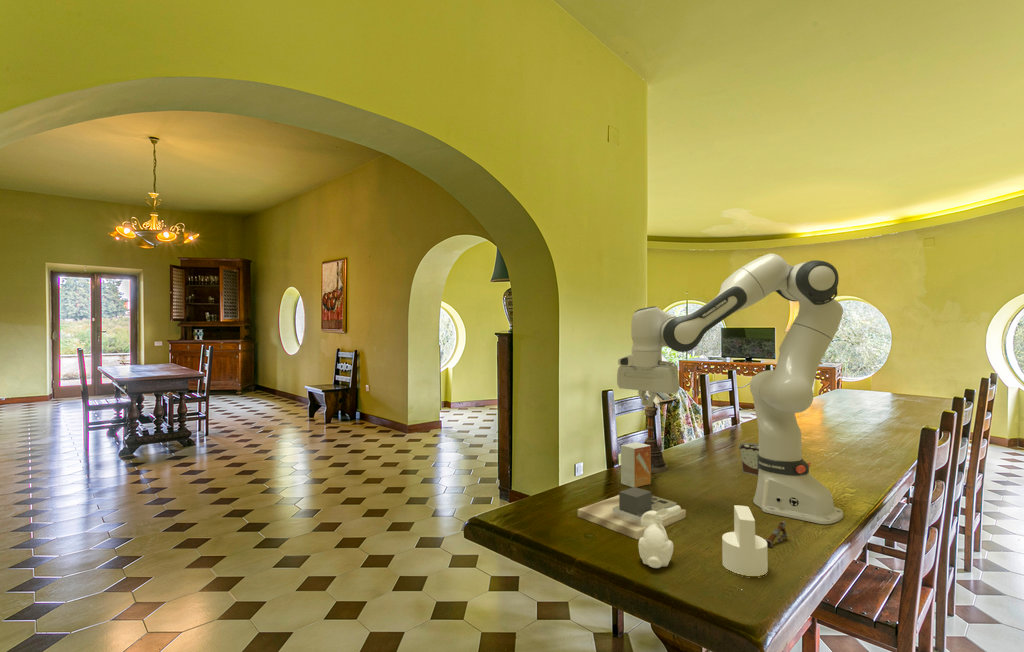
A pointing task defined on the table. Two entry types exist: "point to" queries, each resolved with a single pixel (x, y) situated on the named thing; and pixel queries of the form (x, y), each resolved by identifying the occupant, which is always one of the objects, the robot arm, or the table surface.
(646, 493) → the plug
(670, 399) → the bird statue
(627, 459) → the small box
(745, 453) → the food container
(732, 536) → the cylinder with rectangular tab
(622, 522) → the board
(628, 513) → the socket
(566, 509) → the table surface
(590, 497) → the table surface
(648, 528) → the rabbit
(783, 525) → the wooden post with brackets
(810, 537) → the table surface
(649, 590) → the table surface
